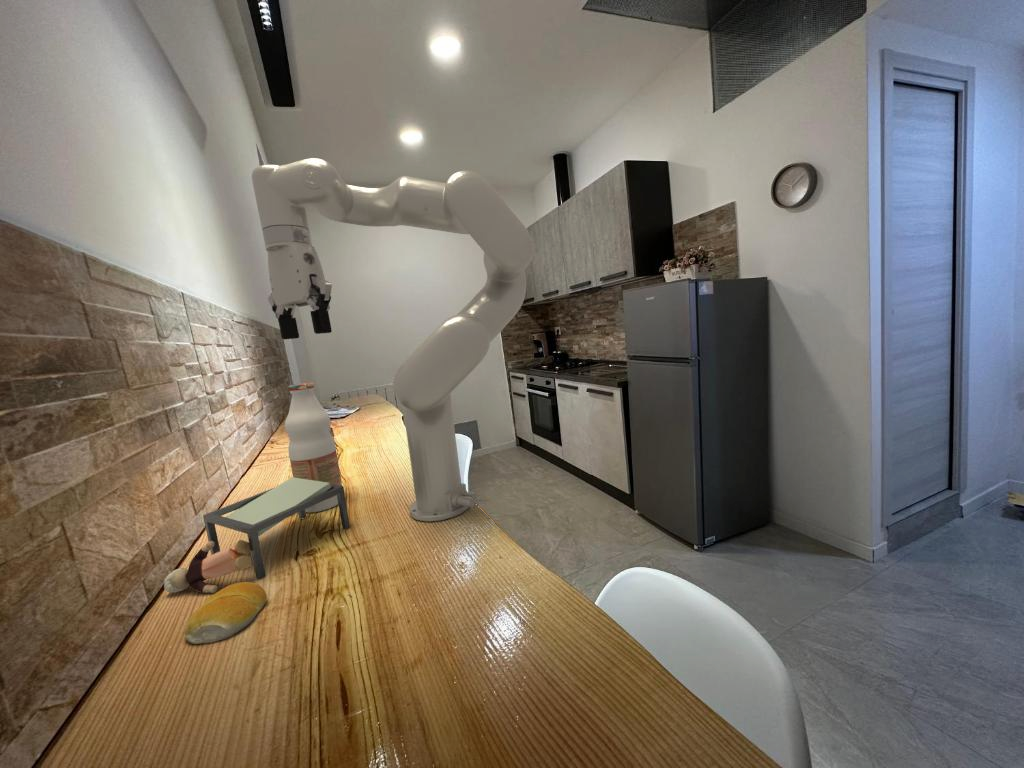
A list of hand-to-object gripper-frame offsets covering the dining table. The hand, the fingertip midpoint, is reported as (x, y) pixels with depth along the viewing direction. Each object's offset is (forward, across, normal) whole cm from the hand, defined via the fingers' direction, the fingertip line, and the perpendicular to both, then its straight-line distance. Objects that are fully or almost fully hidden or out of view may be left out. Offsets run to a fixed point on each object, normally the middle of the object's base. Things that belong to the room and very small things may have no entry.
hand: (306, 336), depth 73 cm
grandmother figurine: (+32, -2, +18) cm, 37 cm away
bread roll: (+38, -8, +25) cm, 46 cm away
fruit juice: (+38, +14, -5) cm, 41 cm away
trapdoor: (+32, +5, +8) cm, 34 cm away
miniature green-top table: (+38, +5, +9) cm, 39 cm away
